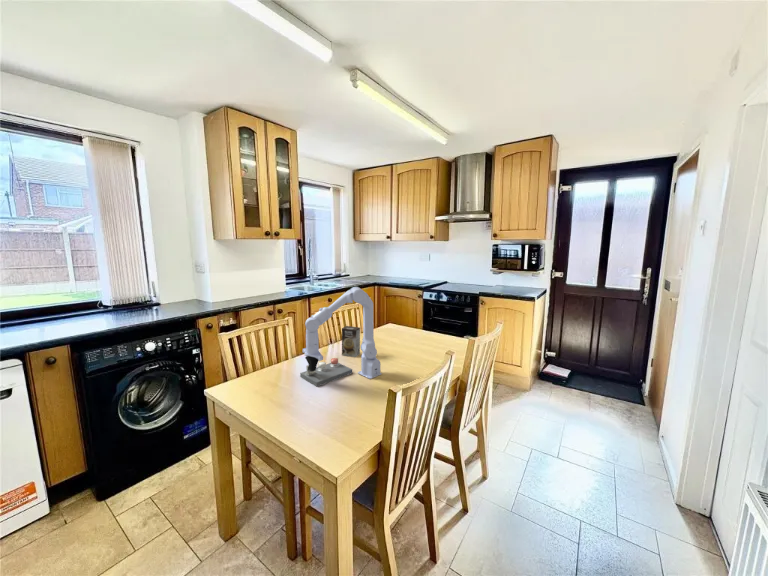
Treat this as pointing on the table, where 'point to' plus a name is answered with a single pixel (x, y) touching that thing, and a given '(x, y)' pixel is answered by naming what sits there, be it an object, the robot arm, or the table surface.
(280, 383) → the table surface
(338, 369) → the control panel
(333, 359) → the red button
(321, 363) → the white button
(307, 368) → the grey square block
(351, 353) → the coffee box
